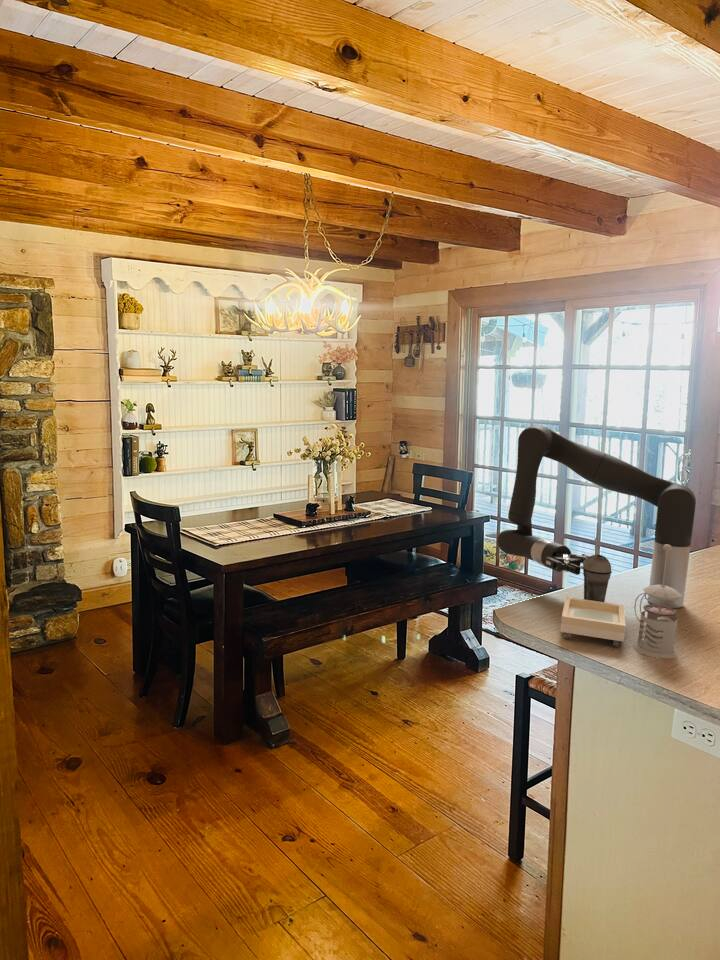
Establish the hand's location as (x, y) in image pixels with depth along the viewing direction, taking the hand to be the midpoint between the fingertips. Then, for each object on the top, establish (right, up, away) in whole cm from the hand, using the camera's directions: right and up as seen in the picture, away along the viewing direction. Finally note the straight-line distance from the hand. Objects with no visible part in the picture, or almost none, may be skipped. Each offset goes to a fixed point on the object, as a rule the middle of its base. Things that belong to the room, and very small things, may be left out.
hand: (591, 569), depth 188 cm
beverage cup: (0, -11, 0) cm, 11 cm away
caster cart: (-5, -13, -16) cm, 21 cm away
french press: (+6, -15, -24) cm, 29 cm away
